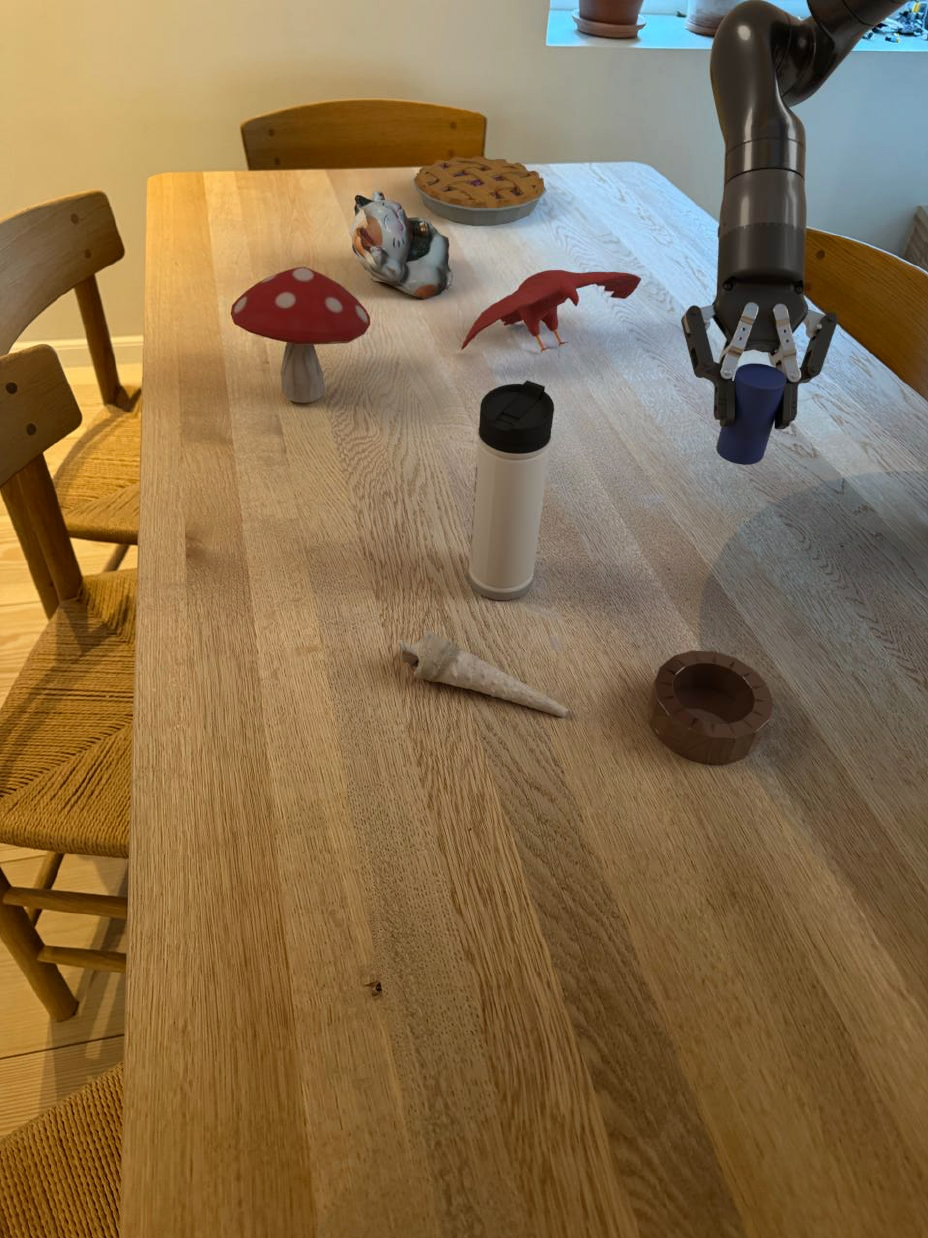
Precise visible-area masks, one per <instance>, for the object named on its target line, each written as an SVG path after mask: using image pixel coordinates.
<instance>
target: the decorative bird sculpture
mask: <svg viewBox="0 0 928 1238" xmlns="http://www.w3.org/2000/svg"><path fill="white" fill-rule="evenodd" d="M641 281H642V277H640V276H638V275H636V274H634V273H629V272H620V271H585V272H574V271H568V270H563V269H549V270H548V269H547V270H543V271H540V272H537V273H534V274H532V275H530V276H528V277H526V279H525V280H523V282H521V284H519V286H518V288H517V289H516V290H515V291H513V292H512V293H511V294H509V295H507V296H505V297H503V298H502V299H500V300H499V301H496V302H494V303H493V304H491V305H490V306H489V307H488V308H486V309H485V310H483V311H482V312H480V315H479V316H478V317H477V318H476V319H475V320H474V323H473V324H472V326H471V327H470V329H469V331H468V333H467V335H466V337H465V339H464V341H463V343H462V345H461V350H460V351H463V350H464V349H465V348H466V347H467V346H468V345H469V343H471V341H473V340H474V339H475V338H476V337H477V335H478V334H479V333H480V332H482V331H484V330H485V329H486V328H488V327H490V326H492V325H493V324H495V323H496V322H497V321H500V322H501V323H503V324H502V325H503V327H507V326H510V325H511V326H513V325H515V324H516V323H519V322H523V324H524V325H525V326H526V327H527V330H528V332H529V334H531V335H532V336H533V337H535V338H536V340H537V343H538V344H539V346H540V349H541V350H540V352H541V353H543V352H544V351H546V350H549V349H552V348H551V347H545V346H544V344H543V342H542V340H541V337H540V336H539V335H540V323H541V322H542V323H544V324H545V326H546V328H547V329H548V330H549V331H550V332H553V333H554V335H555V338H556V340H557V341H558V345H557V346H558V347H560V346H561V345H564V344H567V343H568V344H569V342H568V341H564V342H563V341H562V339H561V338H560V336H559V334H558V331H557V330H558V328H559V317H558V307H559V306H560V305H562V304H565V302H567V300H570V301H571V302H572V304H573V305H574V306H575V307H577V306H578V304H579V301H580V297H579V296H580V295H579V293H578V291H577V290H578V289H582V288H585V287H589V286H591V285H596V286H597V287H604V289H603V291H604V292H607V293H610V292H612V293H611V294H610V298H612V299H620V300H625V299H628V297H630V296H631V295H632V294H633V293H634V292H635V290H636V289H637V288H638V286H639V284H640V283H641Z"/></svg>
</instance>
